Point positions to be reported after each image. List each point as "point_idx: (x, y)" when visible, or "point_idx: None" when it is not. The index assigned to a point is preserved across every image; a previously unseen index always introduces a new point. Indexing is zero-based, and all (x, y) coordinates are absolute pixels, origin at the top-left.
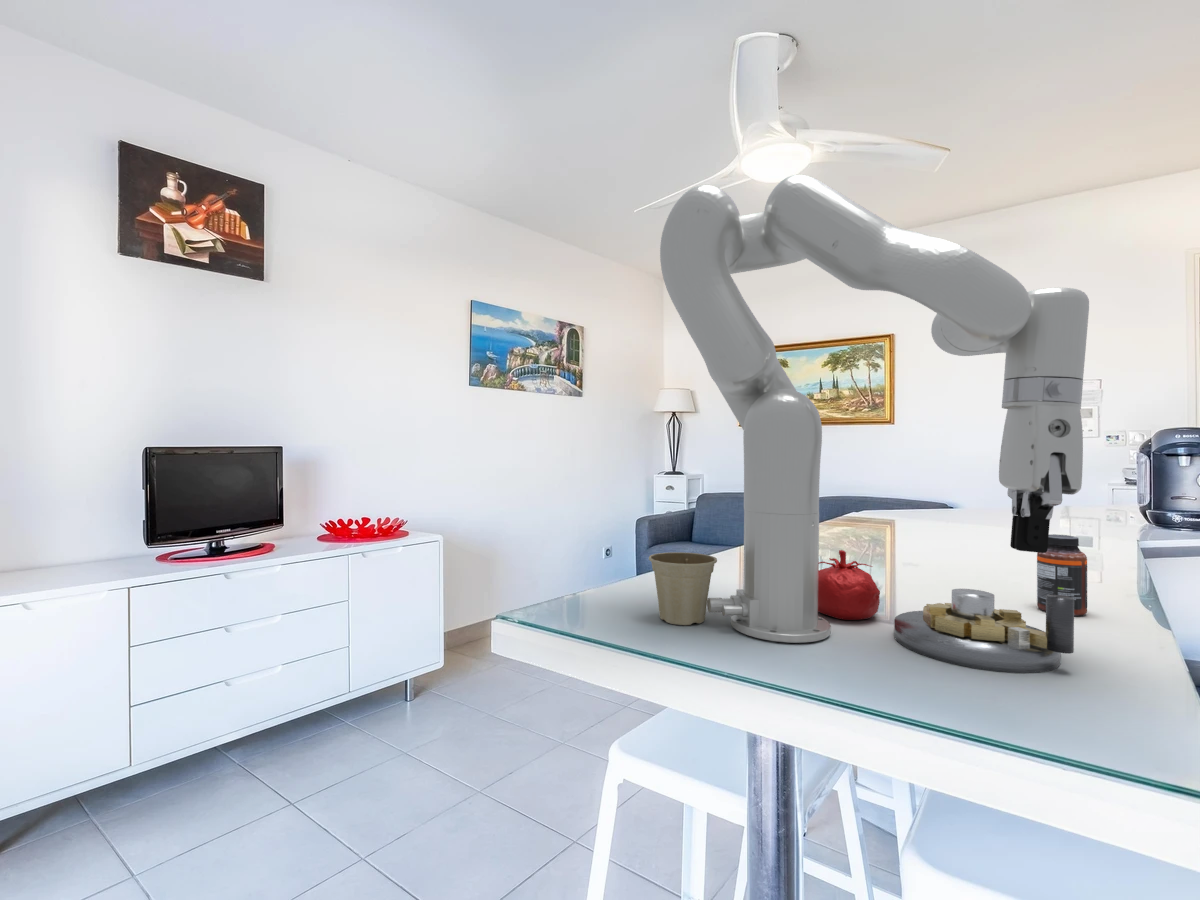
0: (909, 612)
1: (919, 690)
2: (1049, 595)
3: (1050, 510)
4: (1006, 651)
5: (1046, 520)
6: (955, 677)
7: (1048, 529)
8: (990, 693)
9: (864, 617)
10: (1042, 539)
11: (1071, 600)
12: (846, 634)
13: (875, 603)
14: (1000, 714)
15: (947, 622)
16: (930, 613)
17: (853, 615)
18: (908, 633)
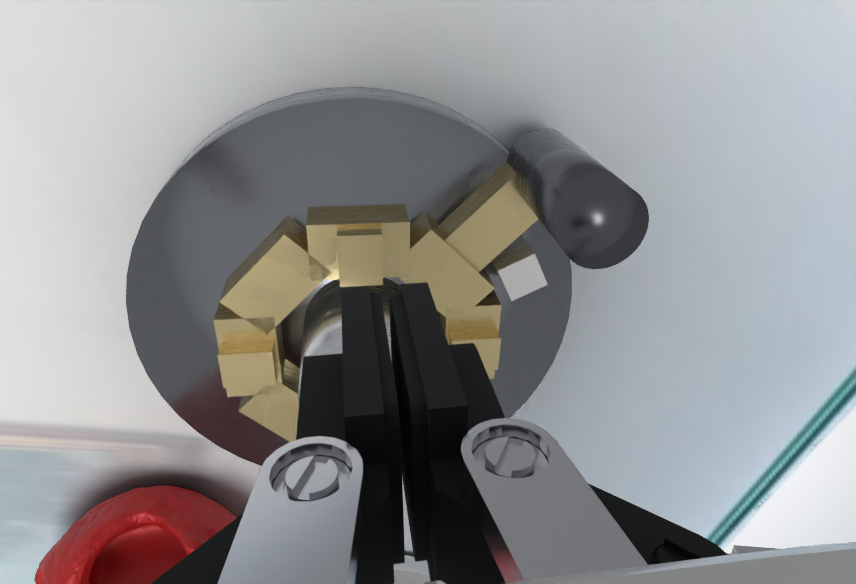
0: (220, 442)
1: (671, 438)
2: (579, 254)
3: (634, 506)
4: (553, 294)
5: (461, 417)
6: (601, 376)
7: (452, 358)
8: (678, 338)
9: (222, 506)
10: (476, 358)
11: (645, 205)
12: None
13: (214, 522)
14: (767, 347)
15: None
16: None
17: None
18: None
